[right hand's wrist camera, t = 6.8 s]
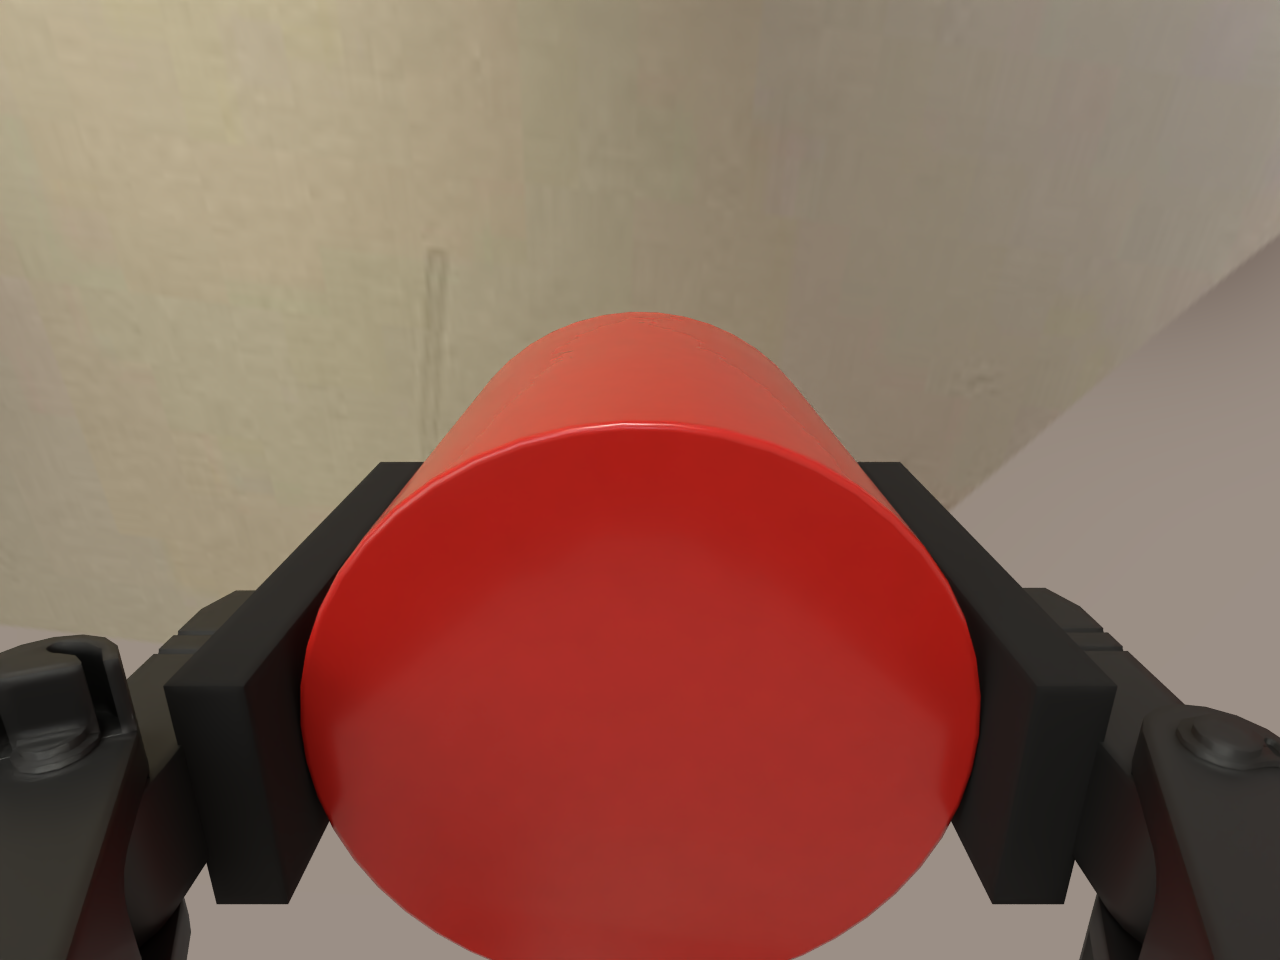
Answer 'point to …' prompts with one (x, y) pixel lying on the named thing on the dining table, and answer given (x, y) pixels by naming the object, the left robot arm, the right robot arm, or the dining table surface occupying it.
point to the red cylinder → (640, 666)
